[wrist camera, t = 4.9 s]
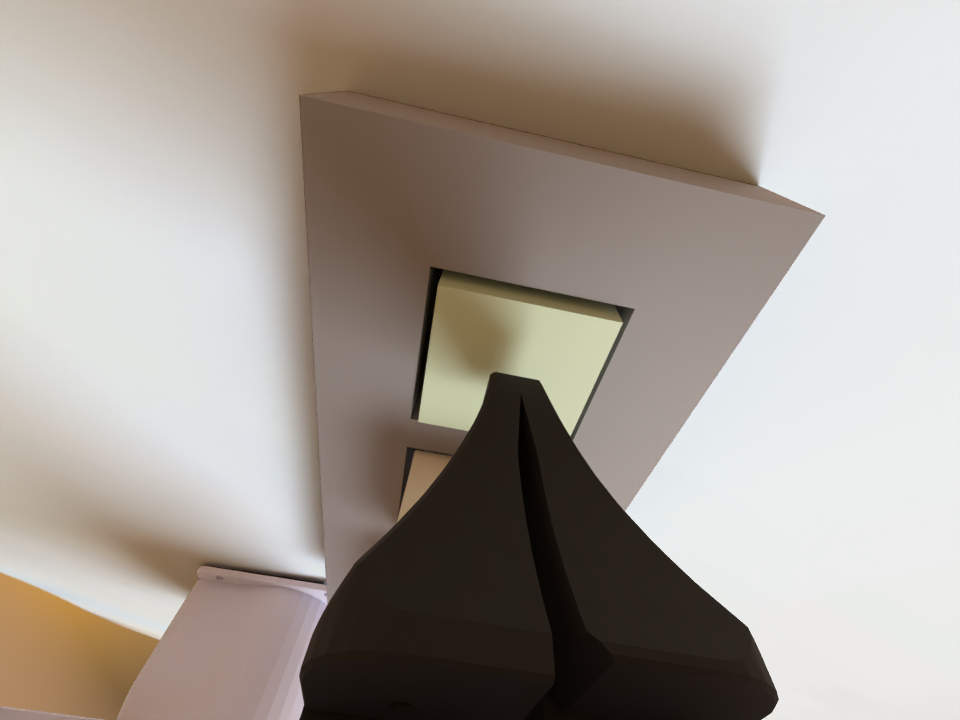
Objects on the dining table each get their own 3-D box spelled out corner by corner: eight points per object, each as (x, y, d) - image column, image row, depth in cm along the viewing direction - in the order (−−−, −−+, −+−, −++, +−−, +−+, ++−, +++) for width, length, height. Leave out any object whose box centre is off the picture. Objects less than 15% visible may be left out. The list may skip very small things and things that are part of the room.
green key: (433, 365, 16) (418, 421, 13) (452, 243, 13) (438, 285, 10) (556, 389, 16) (564, 448, 14) (601, 274, 13) (622, 323, 11)
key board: (345, 569, 26) (328, 620, 23) (346, 90, 11) (299, 94, 9) (528, 598, 27) (529, 651, 24) (759, 186, 12) (825, 215, 9)
